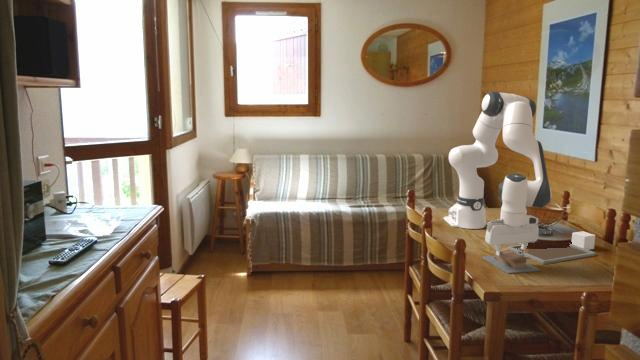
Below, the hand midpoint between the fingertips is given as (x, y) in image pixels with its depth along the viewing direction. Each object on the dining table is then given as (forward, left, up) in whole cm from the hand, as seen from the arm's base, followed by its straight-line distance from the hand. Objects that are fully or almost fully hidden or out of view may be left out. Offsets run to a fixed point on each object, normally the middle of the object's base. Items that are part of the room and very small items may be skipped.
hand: (510, 254), depth 181 cm
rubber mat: (0, 0, -4) cm, 4 cm away
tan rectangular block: (0, 0, -3) cm, 3 cm away
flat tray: (-8, +23, -5) cm, 25 cm away
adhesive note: (-10, +41, -4) cm, 43 cm away
